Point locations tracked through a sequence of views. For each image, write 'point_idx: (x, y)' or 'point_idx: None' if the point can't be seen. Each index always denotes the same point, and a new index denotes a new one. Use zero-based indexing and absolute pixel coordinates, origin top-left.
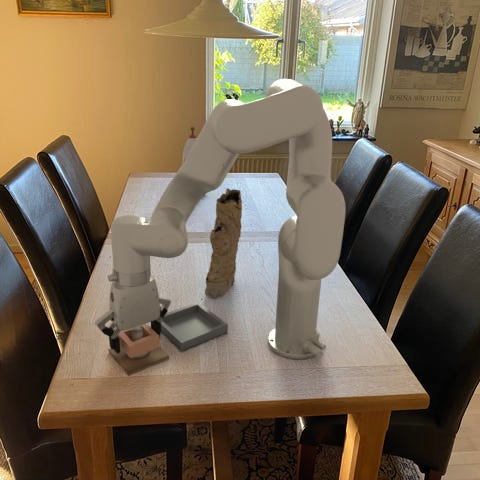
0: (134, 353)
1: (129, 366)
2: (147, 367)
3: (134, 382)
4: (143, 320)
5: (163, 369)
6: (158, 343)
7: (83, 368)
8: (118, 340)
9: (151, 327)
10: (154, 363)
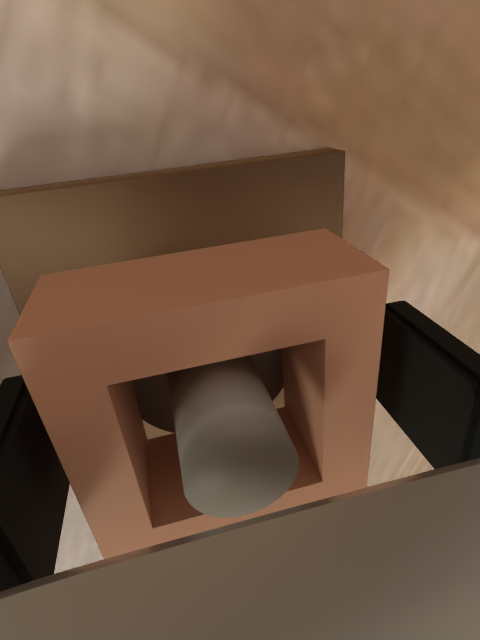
0: (301, 244)
1: (309, 210)
2: (186, 166)
3: (326, 48)
4: (273, 612)
5: (68, 80)
6: (43, 291)
7: (467, 326)
8: (475, 367)
9: (60, 500)
10: (125, 176)
